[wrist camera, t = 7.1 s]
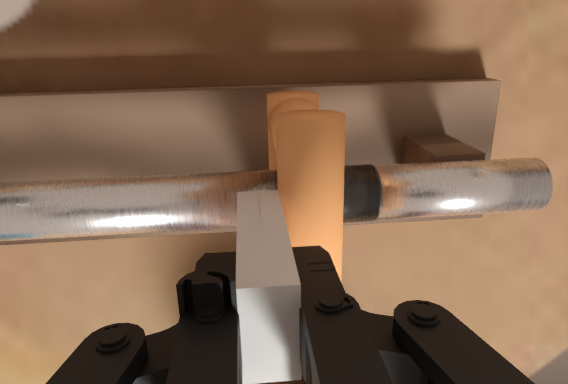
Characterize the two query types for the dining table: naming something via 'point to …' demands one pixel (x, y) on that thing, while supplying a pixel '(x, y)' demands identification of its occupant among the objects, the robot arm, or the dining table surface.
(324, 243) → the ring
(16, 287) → the dining table surface
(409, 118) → the stand
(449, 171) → the rod
